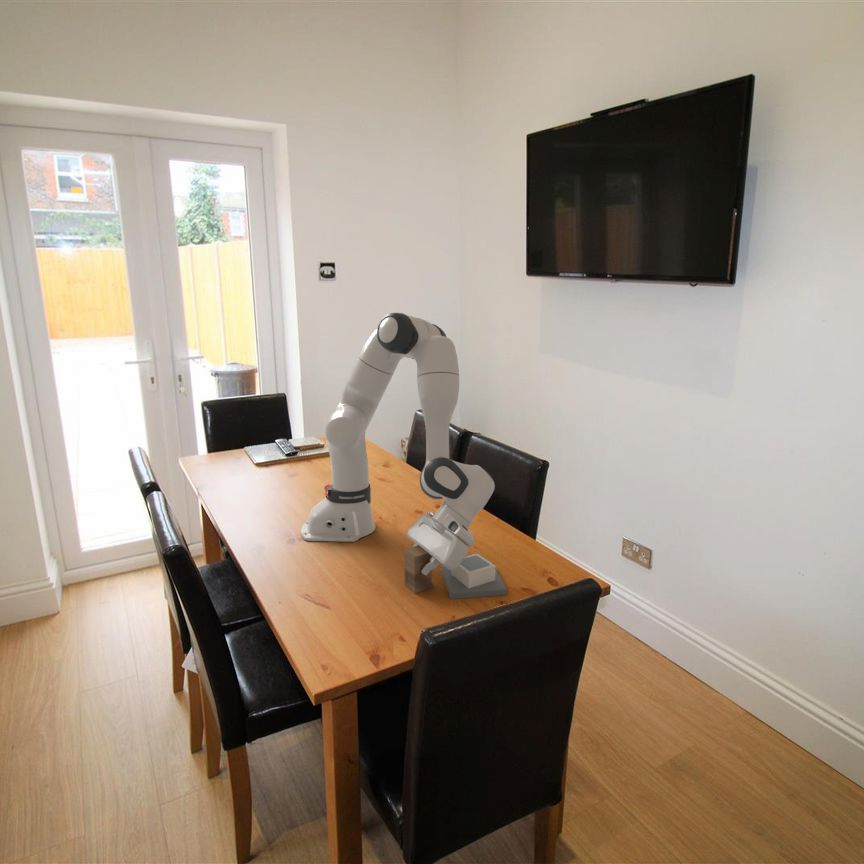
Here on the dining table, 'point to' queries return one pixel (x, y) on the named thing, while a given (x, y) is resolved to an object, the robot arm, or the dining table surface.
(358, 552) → the dining table surface
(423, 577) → the walnut column
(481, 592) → the base board
